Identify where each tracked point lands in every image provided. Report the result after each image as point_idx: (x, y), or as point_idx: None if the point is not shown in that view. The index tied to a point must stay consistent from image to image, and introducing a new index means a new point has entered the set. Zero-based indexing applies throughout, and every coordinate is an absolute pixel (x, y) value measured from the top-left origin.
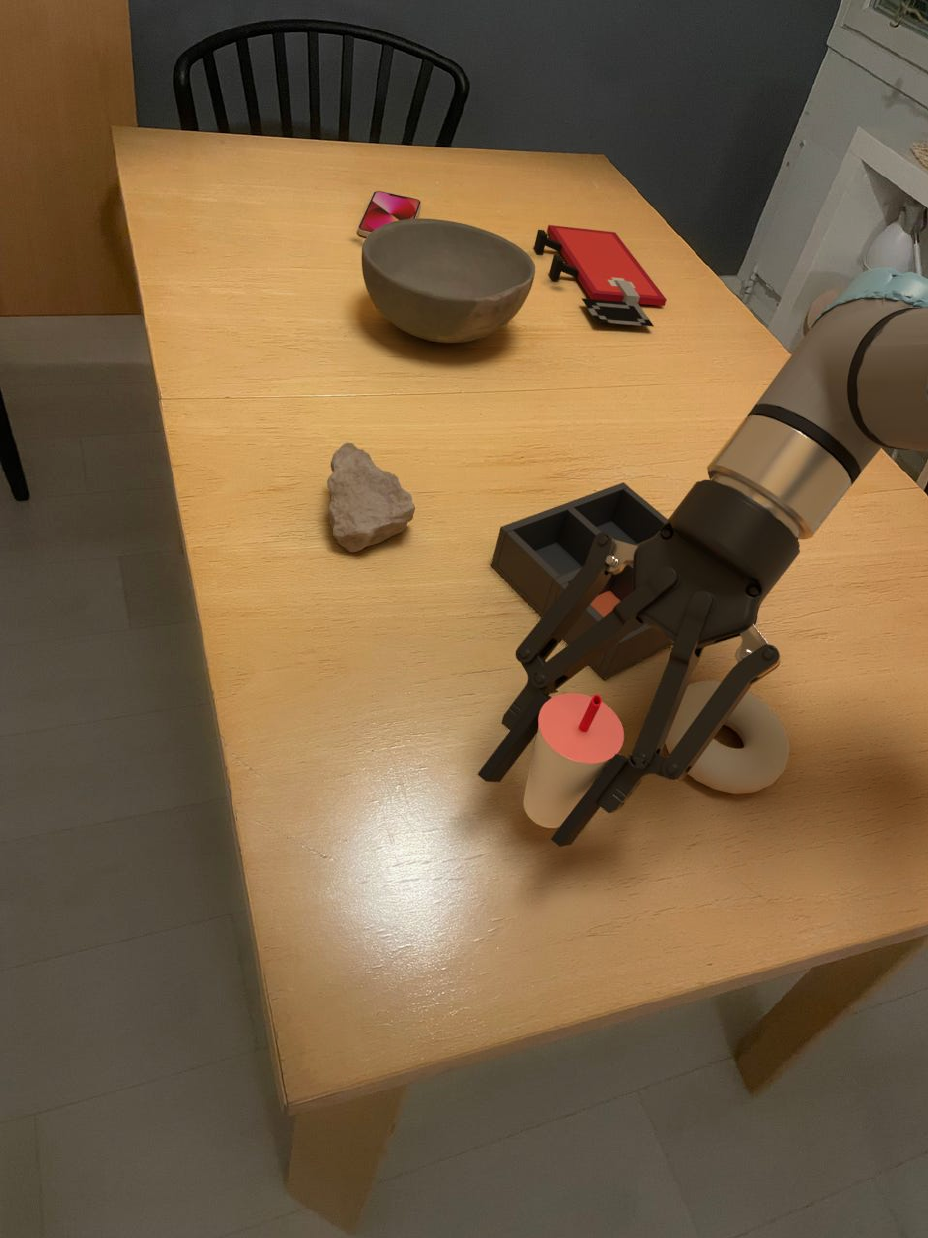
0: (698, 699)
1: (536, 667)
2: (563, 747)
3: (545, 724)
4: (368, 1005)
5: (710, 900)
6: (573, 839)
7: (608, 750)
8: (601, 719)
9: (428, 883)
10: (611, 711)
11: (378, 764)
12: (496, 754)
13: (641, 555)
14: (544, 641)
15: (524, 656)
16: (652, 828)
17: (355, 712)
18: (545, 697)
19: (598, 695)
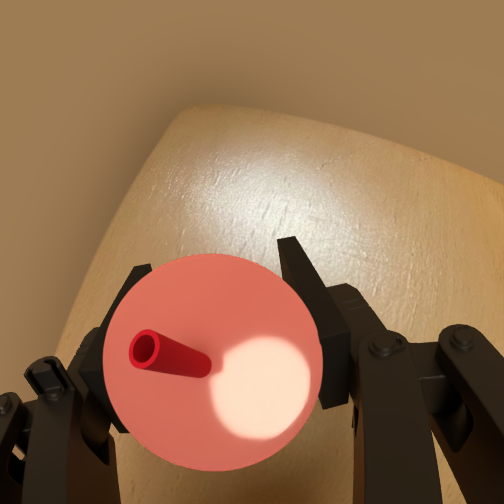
0: None
1: (417, 363)
2: (182, 277)
3: (258, 282)
4: (197, 144)
5: None
6: None
7: (117, 366)
8: (195, 426)
9: (253, 223)
10: (202, 466)
11: (396, 251)
12: (299, 254)
13: None
14: (475, 389)
15: (455, 335)
16: (169, 474)
17: (456, 262)
18: (329, 336)
19: (150, 365)
